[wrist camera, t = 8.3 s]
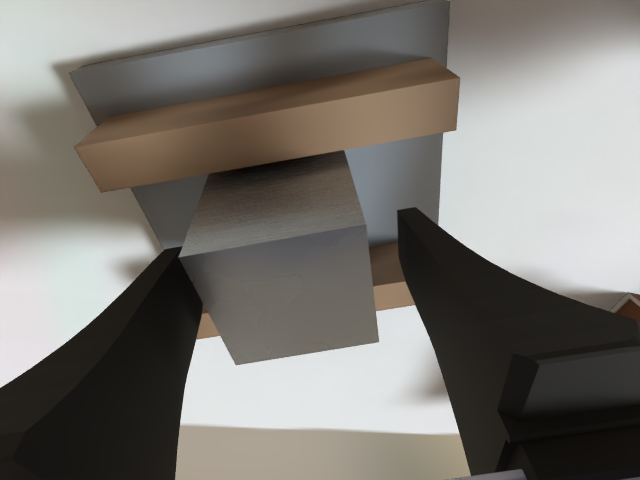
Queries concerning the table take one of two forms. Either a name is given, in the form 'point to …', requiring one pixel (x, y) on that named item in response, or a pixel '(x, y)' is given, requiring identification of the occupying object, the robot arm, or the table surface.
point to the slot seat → (283, 120)
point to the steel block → (283, 258)
